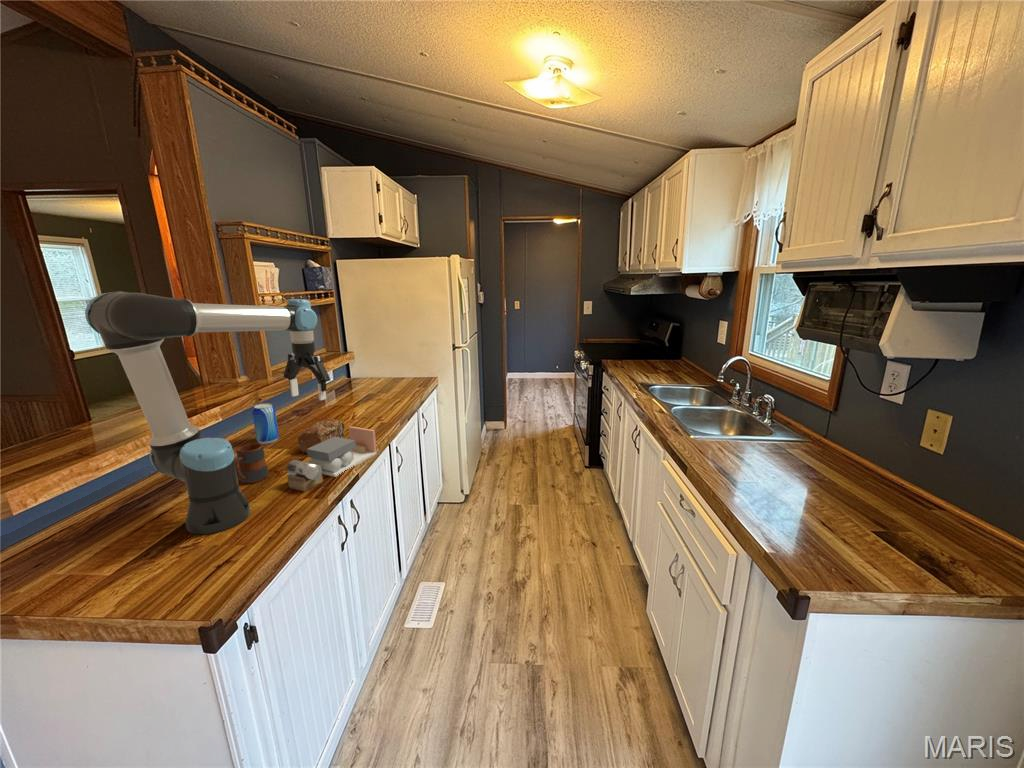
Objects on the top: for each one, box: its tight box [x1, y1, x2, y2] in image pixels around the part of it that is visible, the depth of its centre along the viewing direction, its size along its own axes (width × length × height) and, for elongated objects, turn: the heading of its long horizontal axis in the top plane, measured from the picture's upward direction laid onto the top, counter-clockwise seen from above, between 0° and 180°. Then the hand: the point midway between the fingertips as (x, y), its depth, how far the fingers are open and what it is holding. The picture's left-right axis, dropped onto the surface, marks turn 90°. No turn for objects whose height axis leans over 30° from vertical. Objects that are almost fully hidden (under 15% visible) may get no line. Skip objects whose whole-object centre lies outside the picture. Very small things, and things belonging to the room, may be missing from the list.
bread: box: [297, 418, 346, 453], centre depth 171 cm, size 19×11×10 cm, turn 173°
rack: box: [286, 471, 324, 492], centre depth 138 cm, size 8×7×4 cm
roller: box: [286, 459, 322, 480], centre depth 137 cm, size 10×5×5 cm, turn 69°
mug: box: [234, 442, 269, 484], centre depth 139 cm, size 9×12×12 cm
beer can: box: [251, 403, 280, 445], centre depth 174 cm, size 8×8×16 cm
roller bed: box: [309, 426, 378, 478], centre depth 154 cm, size 12×22×10 cm, turn 159°
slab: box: [306, 437, 356, 461], centre depth 149 cm, size 10×13×3 cm
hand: (308, 397), depth 154 cm, fingers open, 13 cm apart
